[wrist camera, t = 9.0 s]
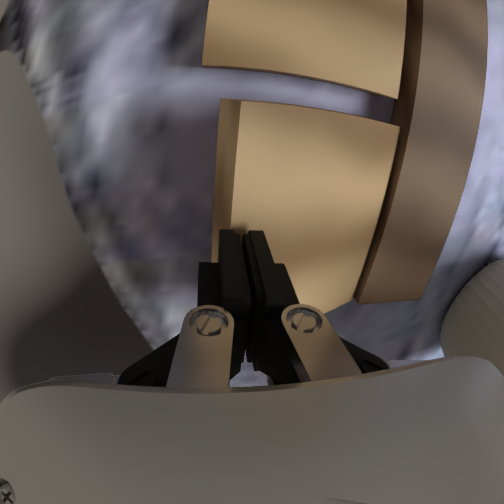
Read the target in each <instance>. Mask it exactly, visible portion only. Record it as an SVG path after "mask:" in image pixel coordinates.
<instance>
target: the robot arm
mask: <svg viewBox="0 0 504 504" xmlns="http://www.w3.org/2000/svg"><path fill="white" fill-rule="evenodd" d="M245 350H246V357H247V362H253V368H254V371H261V372H263V373H264V374H266V375H267V382H268V385H269V386H253V387H229V383H230V380H231V379H232V378H233V377H234V376H235V375H236V374H238V373H239V372H240V369H241V363H243V361H244V354H245ZM0 504H504V376H503V375H502V374H501V372H500V371H499V370H498V369H497V368H496V366H495V365H494V364H492V363H491V362H490V361H488V360H485V359H483V358H479V357H473V356H450V357H443V358H438V359H432V360H388V361H387V363H385V362H384V361H383V360H382V359H380V358H379V357H377V356H375V355H373V354H371V353H369V352H367V351H365V350H363V349H361V348H359V347H357V346H355V345H353V344H352V343H350V342H348V341H346V340H344V339H342V338H340V337H339V336H338V335H337V333H336V332H335V330H334V328H333V327H332V325H331V324H330V322H329V321H328V319H327V318H326V316H325V315H324V314H323V313H322V312H321V311H320V310H318V309H317V308H315V307H313V306H310V305H306V304H300V303H299V300H298V298H297V295H296V292H295V290H294V287H293V285H292V282H291V279H290V277H289V274H288V272H287V269H286V266H285V265H284V264H283V263H274V260H273V257H272V254H271V251H270V248H269V245H268V242H267V240H266V237H265V234H264V231H263V230H249V231H248V234H243V238H242V245H241V240H240V235H239V233H234V230H227V229H219V245H218V263H216V262H199V274H198V305H197V307H196V308H194V309H191V310H190V311H189V312H188V313H187V314H186V316H185V318H184V321H183V324H182V328H181V332H180V334H178V335H177V336H175V337H174V338H172V339H171V340H169V341H168V342H166V343H165V344H163V345H162V346H160V347H159V348H157V349H156V350H154V351H153V352H151V353H150V354H148V355H147V356H145V357H144V358H142V359H141V360H139V361H138V362H136V363H134V364H133V365H131V366H130V367H128V368H127V369H126V370H125V371H124V372H122V373H121V375H116V376H113V375H112V373H101V374H90V375H77V376H61V377H54V378H51V379H49V380H48V381H46V382H42V383H36V384H31V385H27V386H24V387H21V388H19V389H16V390H14V391H13V392H11V393H10V394H9V395H8V396H7V397H6V398H5V399H4V400H3V402H2V403H1V404H0Z"/></svg>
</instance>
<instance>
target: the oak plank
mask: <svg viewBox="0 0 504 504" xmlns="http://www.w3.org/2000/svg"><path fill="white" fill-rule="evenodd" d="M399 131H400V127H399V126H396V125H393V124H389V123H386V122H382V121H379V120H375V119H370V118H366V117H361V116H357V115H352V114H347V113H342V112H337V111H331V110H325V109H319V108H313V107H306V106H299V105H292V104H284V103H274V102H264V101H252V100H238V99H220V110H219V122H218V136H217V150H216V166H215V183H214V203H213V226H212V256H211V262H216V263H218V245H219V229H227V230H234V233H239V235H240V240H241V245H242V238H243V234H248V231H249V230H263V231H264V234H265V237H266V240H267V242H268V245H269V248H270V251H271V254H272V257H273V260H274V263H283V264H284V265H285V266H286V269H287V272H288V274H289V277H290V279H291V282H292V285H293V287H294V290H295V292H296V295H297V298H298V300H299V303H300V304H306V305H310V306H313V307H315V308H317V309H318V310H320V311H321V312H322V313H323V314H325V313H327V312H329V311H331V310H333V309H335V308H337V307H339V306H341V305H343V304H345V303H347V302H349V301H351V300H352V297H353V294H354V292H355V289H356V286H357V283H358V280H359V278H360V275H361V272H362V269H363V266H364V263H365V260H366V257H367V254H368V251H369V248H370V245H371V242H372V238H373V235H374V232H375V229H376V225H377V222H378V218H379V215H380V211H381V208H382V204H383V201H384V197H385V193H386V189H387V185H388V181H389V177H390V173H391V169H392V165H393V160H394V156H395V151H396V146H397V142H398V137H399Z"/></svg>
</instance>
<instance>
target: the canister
mask: <svg viewBox="0 0 504 504" xmlns="http://www.w3.org/2000/svg"><path fill="white" fill-rule="evenodd" d="M440 337H441V347H442V350H443V353H444V356H445V357H450V356H473V357H479V358H483V359H485V360H488V361H490V362H491V363H492V364H494V365H495V366H496V368H497V369H498V370H499V371H500V372H501V374H502V375H503V376H504V259H499V260H495V261H494V262H493V263H489V264H488V265H487V266H485V267H483V269H482V270H481V271H478V272H477V274H476V275H475V276H474V277H472V278H471V280H470V281H469V282H468V283H466V285H465V287H464V288H463V289H462V290H461V291H460V293H459V294H458V295H457V296H456V297H455V300H454V301H453V302H452V304H451V306H450V308H449V309H448V311H447V314H446V316H445V317H444V321H443V323H442V327H441V333H440Z"/></svg>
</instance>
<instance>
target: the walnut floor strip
mask: <svg viewBox="0 0 504 504" xmlns="http://www.w3.org/2000/svg"><path fill="white" fill-rule="evenodd" d="M487 46H488V21H487V2H486V0H407V9H406V28H405V42H404V53H403V62H402V71H401V79H400V86H399V93H398V99H395V102H394V109H393V115H392V120H391V124H393V125H396V126H399V127H400V131H399V137H398V142H397V146H396V151H395V156H394V160H393V165H392V169H391V173H390V177H389V181H388V185H387V189H386V193H385V197H384V201H383V204H382V208H381V211H380V215H379V218H378V222H377V225H376V229H375V232H374V235H373V238H372V242H371V245H370V248H369V251H368V254H367V257H366V260H365V263H364V266H363V269H362V272H361V275H360V278H359V280H358V283H357V286H356V289H355V292H354V294H353V297H354V299H355V300H356V302H357V304H371V303H385V302H397V301H408V300H419V299H420V298H421V296H422V294H423V292H424V290H425V288H426V286H427V284H428V282H429V279H430V277H431V275H432V273H433V271H434V268H435V266H436V264H437V261H438V259H439V257H440V254H441V252H442V249H443V247H444V244H445V242H446V239H447V237H448V234H449V231H450V229H451V226H452V223H453V220H454V218H455V215H456V212H457V209H458V206H459V203H460V200H461V196H462V193H463V190H464V186H465V183H466V179H467V176H468V172H469V168H470V165H471V161H472V156H473V152H474V148H475V143H476V138H477V134H478V128H479V123H480V117H481V111H482V104H483V97H484V89H485V79H486V67H487Z"/></svg>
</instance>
